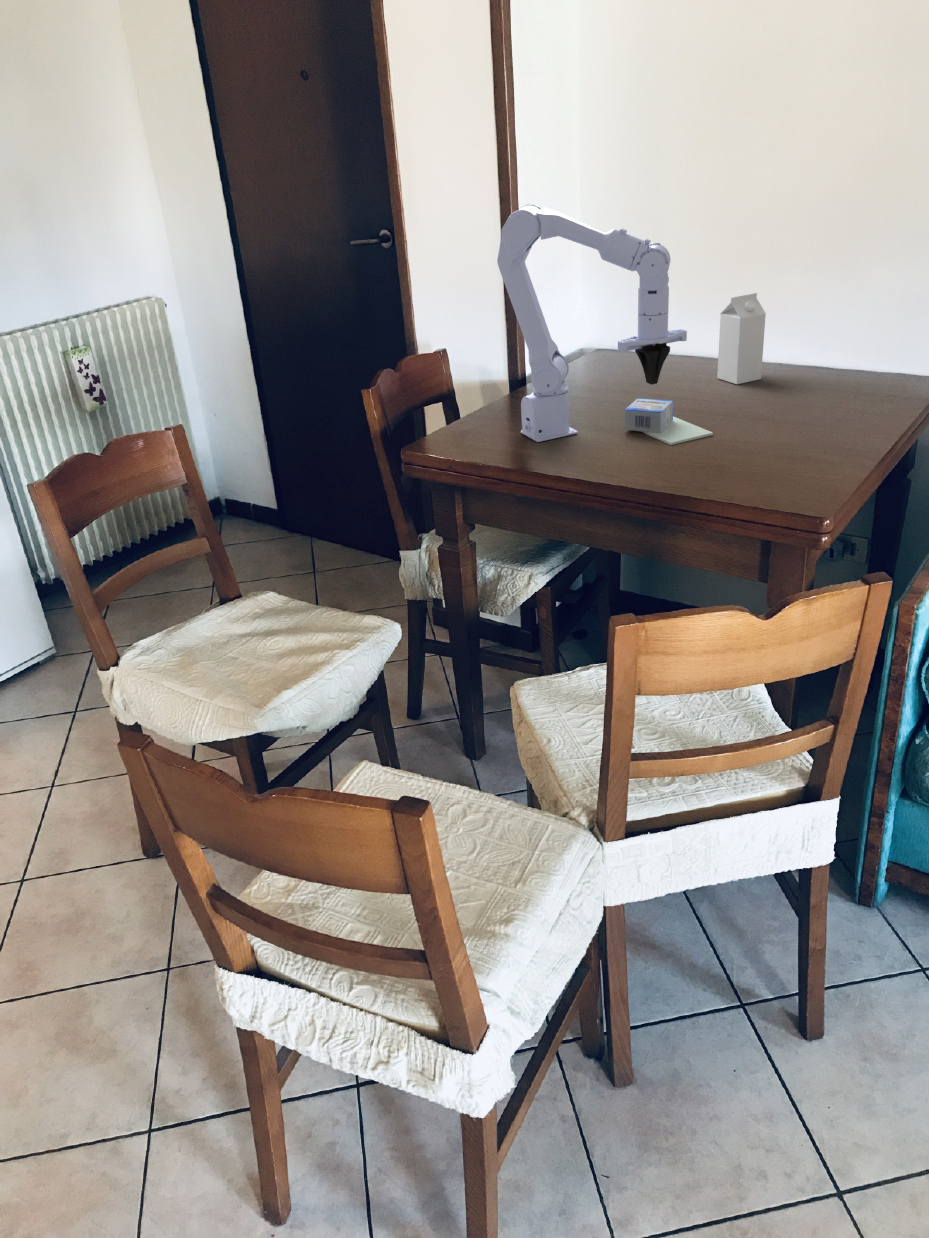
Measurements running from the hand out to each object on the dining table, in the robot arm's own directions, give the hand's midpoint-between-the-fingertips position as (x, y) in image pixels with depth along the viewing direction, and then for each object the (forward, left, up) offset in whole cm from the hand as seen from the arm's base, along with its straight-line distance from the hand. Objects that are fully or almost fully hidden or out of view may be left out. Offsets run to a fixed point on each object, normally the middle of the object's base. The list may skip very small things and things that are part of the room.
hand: (651, 383), depth 189 cm
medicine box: (-2, 0, -8) cm, 8 cm away
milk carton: (+38, +21, -11) cm, 45 cm away
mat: (+4, -1, -10) cm, 11 cm away
